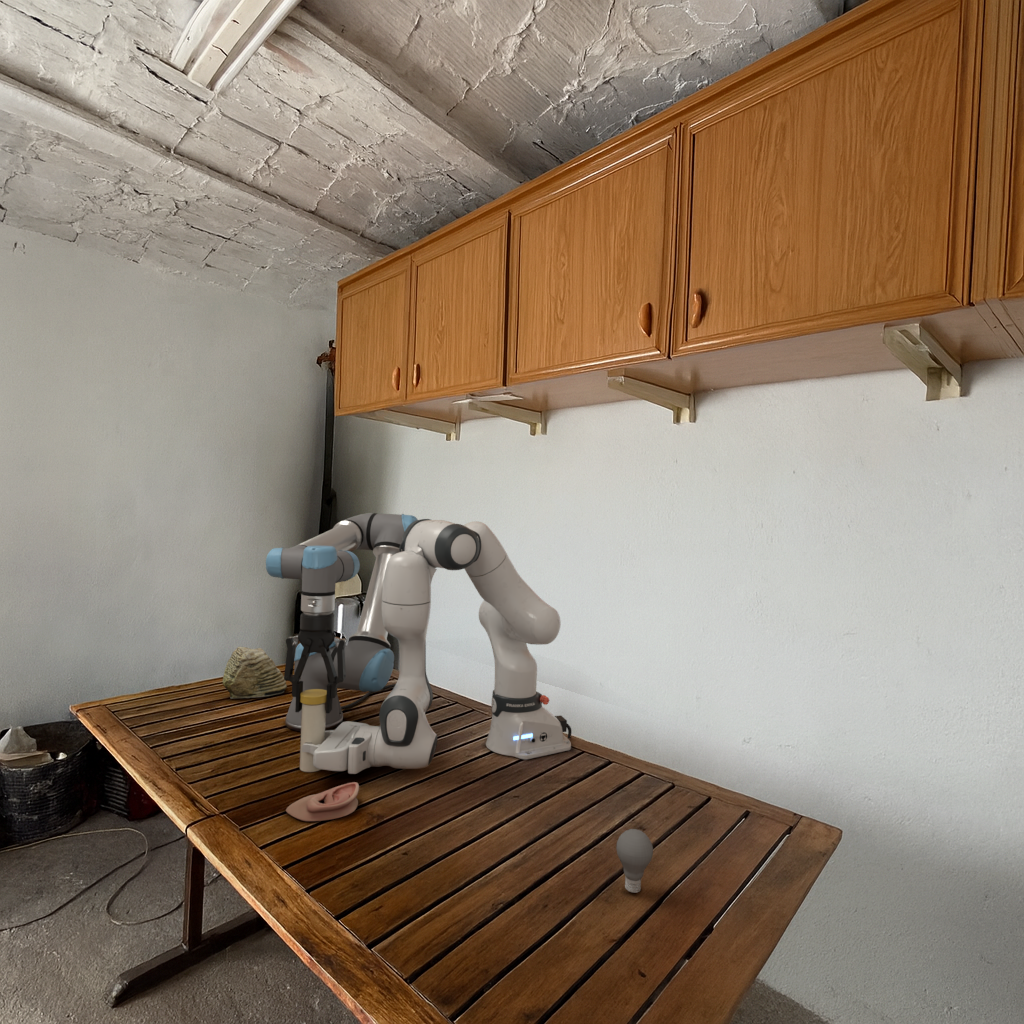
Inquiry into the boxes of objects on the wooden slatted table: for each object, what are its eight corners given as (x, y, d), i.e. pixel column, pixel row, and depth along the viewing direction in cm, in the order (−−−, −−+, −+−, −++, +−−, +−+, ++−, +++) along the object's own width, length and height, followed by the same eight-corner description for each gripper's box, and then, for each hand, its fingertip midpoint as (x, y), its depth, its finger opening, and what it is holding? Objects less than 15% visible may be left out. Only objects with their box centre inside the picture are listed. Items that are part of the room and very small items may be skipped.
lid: (330, 703, 146) (330, 695, 146) (301, 706, 144) (302, 698, 143) (326, 695, 152) (326, 687, 152) (298, 697, 149) (298, 690, 149)
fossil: (218, 695, 195) (220, 647, 195) (278, 685, 208) (279, 640, 207) (228, 703, 189) (230, 653, 188) (289, 692, 201) (290, 645, 201)
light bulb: (610, 879, 108) (613, 822, 108) (644, 879, 109) (647, 822, 109) (619, 902, 102) (622, 840, 102) (655, 901, 103) (658, 840, 103)
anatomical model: (278, 797, 124) (308, 772, 135) (277, 817, 124) (307, 791, 136) (340, 806, 122) (366, 781, 133) (339, 827, 122) (365, 799, 133)
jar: (301, 773, 144) (303, 700, 144) (298, 764, 149) (300, 693, 149) (325, 770, 147) (328, 697, 146) (321, 760, 152) (324, 690, 151)
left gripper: (270, 613, 143) (266, 715, 144) (355, 616, 144) (351, 717, 144) (281, 608, 151) (277, 704, 151) (362, 611, 151) (358, 706, 152)
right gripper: (379, 716, 157) (325, 713, 158) (353, 748, 137) (291, 744, 138) (378, 742, 157) (324, 738, 158) (352, 777, 137) (290, 773, 138)
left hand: (313, 710), depth 148 cm, fingers closed on lid, 6 cm apart
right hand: (308, 741), depth 148 cm, fingers closed on jar, 5 cm apart
